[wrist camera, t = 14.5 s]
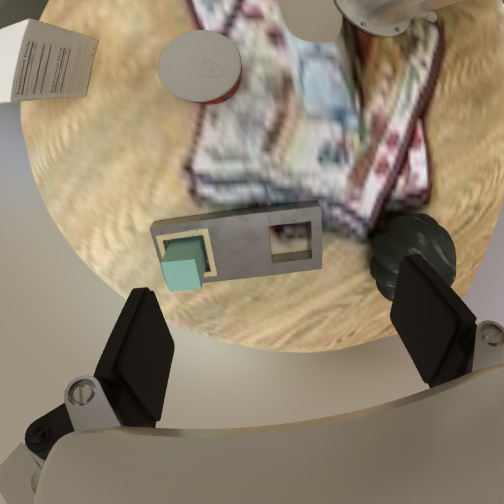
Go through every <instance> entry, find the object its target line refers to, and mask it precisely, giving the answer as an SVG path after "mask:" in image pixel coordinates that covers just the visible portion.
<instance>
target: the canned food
mask: <svg viewBox="0 0 504 504" xmlns="http://www.w3.org/2000/svg"><path fill="white" fill-rule="evenodd" d="M158 69H159V76H160V79H161V81H162V83H163V85H164V86H165V88H166V89H167V90H168V91H169V92H170V93H172V94H173V95H175V96H176V97H178V98H180V99H182V100H185V101H189V102H194V103H201V104H217V103H221V102H223V101H225V100H227V99H229V98H230V97H232V96H233V95H234V94H235V93H236V91H237V90H238V88H239V86H240V83H241V76H242V64H241V57H240V54H239V52H238V50H237V48H236V47H235V45H234V44H233V43H232V42H231V41H230V40H229V39H228V38H226V37H225V36H223V35H221V34H219V33H216V32H213V31H208V30H196V31H190V32H187V33H184V34H182V35H180V36H178V37H176V38H175V39H174V40H173V41H171V42H170V43H169V44H168V45H167V46H166V48H165V49H164V51H163V53H162V54H161V57H160V60H159V67H158Z"/></svg>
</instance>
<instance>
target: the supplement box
mask: <svg viewBox="0 0 504 504" xmlns="http://www.w3.org/2000/svg"><path fill="white" fill-rule="evenodd" d="M97 44H98V40H96V39H93V38H90V37H87V36H85V35H82V34H79V33H76V32H73V31H69V30H66V29H63V28H60V27H57V26H54V25H51V24H48V23H44V22H40V21H37V20H33V19H27V20H24V21H21V22H18V23H16V24H13V25H10V26H7V27H5V28H2V29H0V104H4V103H12V102H21V101H29V100H39V99H48V98H62V97H85V96H86V92H87V87H88V82H89V77H90V72H91V68H92V63H93V59H94V55H95V52H96V48H97Z"/></svg>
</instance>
